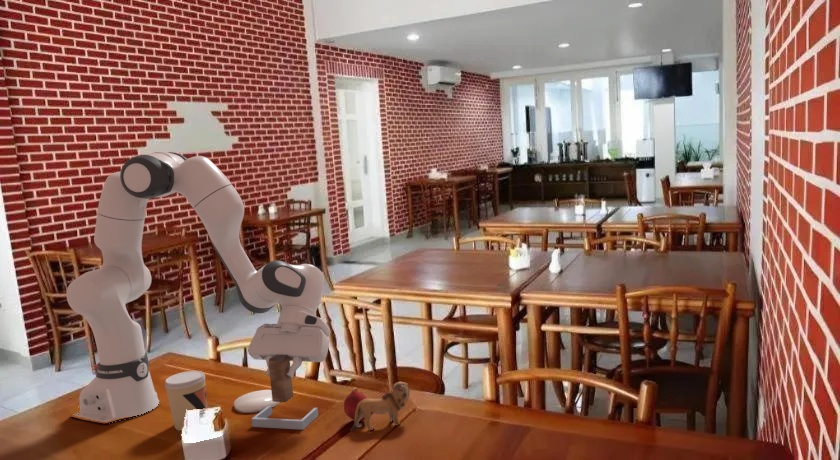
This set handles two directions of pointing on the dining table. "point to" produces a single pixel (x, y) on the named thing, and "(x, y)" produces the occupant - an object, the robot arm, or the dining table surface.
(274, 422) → the grey u-shaped bracket
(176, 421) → the coffee cup
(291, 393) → the brown rectangular block
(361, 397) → the onion
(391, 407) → the lion figurine
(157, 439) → the dining table surface
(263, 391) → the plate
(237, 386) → the dining table surface
